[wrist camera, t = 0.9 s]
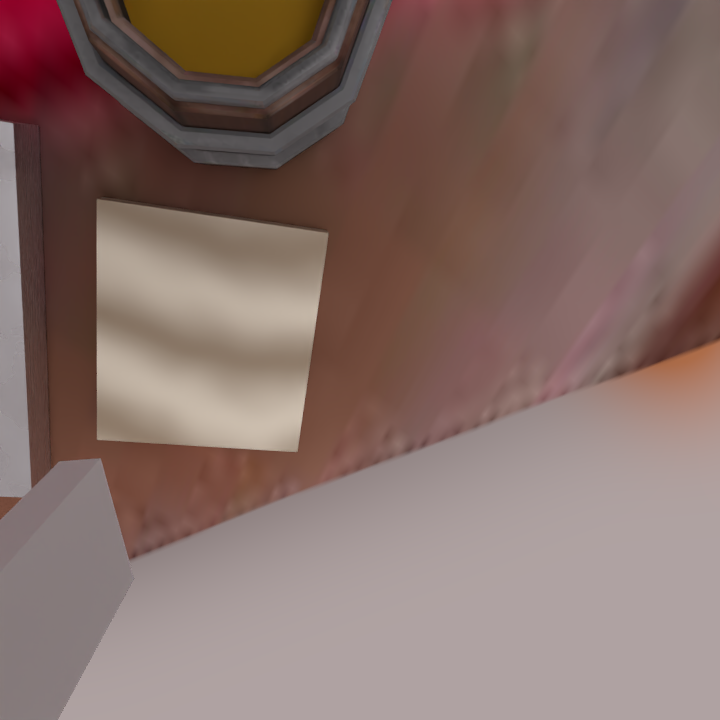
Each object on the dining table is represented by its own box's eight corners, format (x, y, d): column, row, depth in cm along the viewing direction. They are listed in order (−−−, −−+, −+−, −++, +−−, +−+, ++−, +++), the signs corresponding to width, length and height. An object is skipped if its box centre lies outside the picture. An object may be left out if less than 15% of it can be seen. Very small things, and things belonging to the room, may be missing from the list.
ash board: (103, 196, 29) (96, 198, 28) (326, 229, 31) (328, 233, 30) (102, 429, 33) (96, 439, 32) (296, 442, 36) (297, 452, 35)
